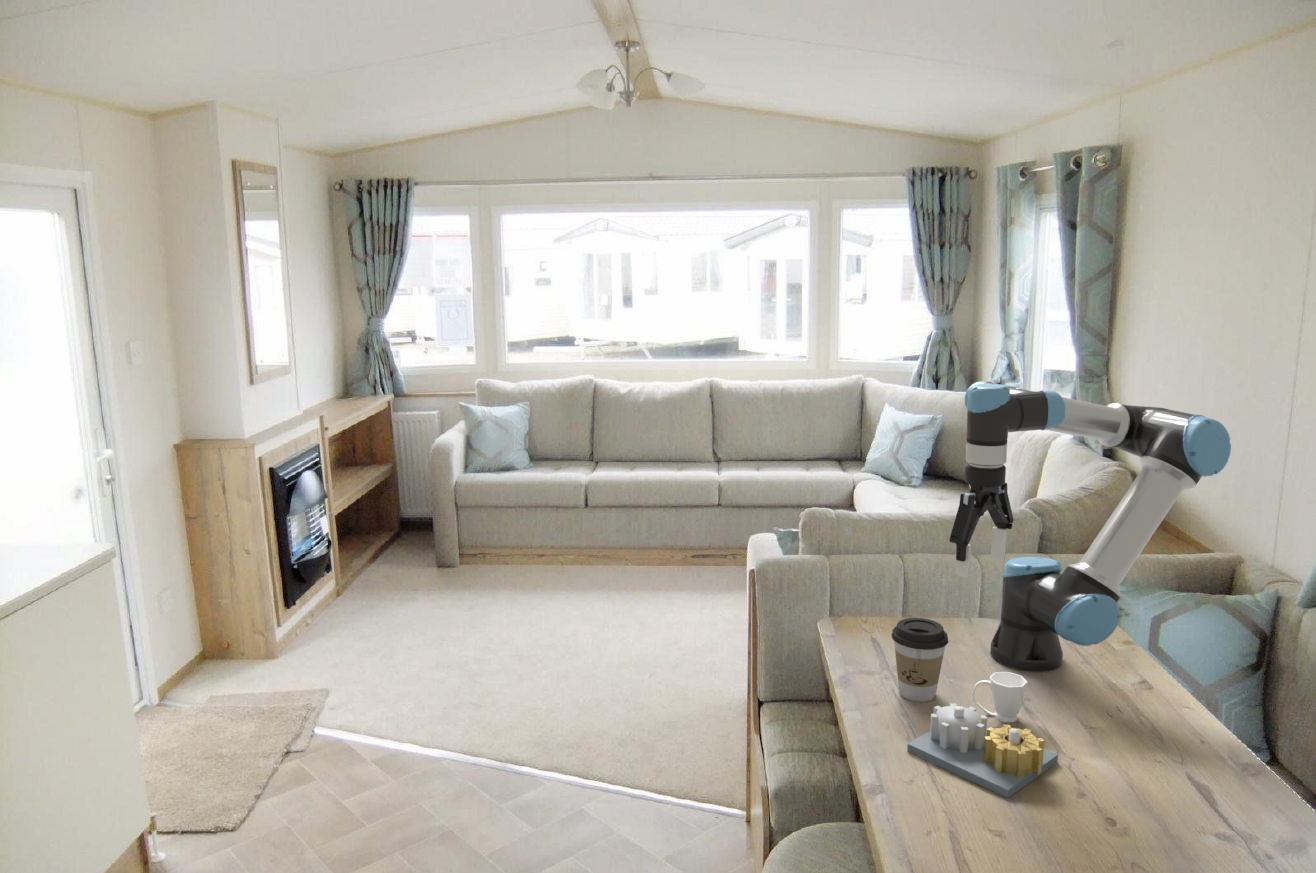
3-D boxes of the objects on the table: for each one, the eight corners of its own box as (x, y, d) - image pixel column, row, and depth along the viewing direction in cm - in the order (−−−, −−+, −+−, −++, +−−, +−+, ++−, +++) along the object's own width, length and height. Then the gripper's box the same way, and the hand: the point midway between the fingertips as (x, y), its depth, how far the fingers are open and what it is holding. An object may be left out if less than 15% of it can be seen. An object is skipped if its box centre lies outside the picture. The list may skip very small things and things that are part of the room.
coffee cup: (885, 701, 191) (887, 632, 188) (893, 677, 202) (895, 612, 199) (942, 710, 187) (946, 640, 184) (948, 686, 197) (951, 619, 194)
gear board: (958, 720, 183) (960, 685, 182) (1057, 761, 168) (1060, 723, 167) (907, 750, 172) (908, 713, 171) (1007, 797, 157) (1010, 757, 156)
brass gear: (1001, 741, 172) (1003, 719, 171) (1053, 763, 165) (1055, 739, 164) (972, 760, 166) (973, 737, 165) (1024, 784, 159) (1026, 759, 158)
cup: (1026, 728, 180) (1028, 689, 178) (971, 720, 183) (973, 682, 181) (1024, 711, 187) (1026, 673, 185) (971, 704, 190) (973, 667, 188)
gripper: (999, 450, 193) (995, 548, 197) (933, 471, 177) (929, 578, 181) (1034, 455, 187) (1029, 556, 192) (969, 478, 171) (964, 588, 175)
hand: (980, 567), depth 186 cm, fingers open, 13 cm apart
